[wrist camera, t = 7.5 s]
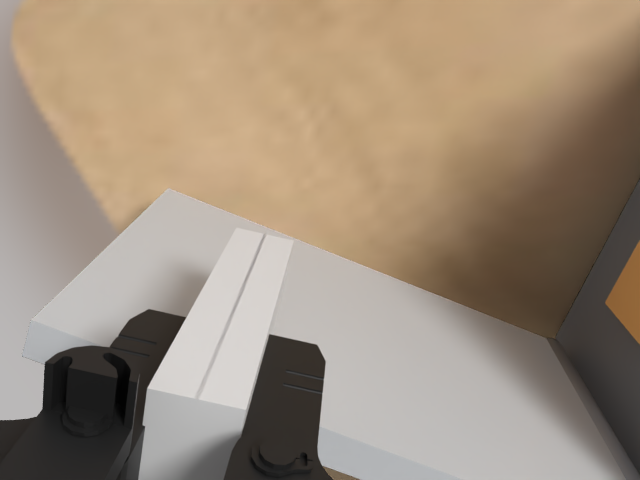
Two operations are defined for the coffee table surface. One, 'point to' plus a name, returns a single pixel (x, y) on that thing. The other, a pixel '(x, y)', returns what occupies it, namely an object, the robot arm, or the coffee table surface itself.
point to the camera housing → (611, 329)
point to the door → (363, 357)
